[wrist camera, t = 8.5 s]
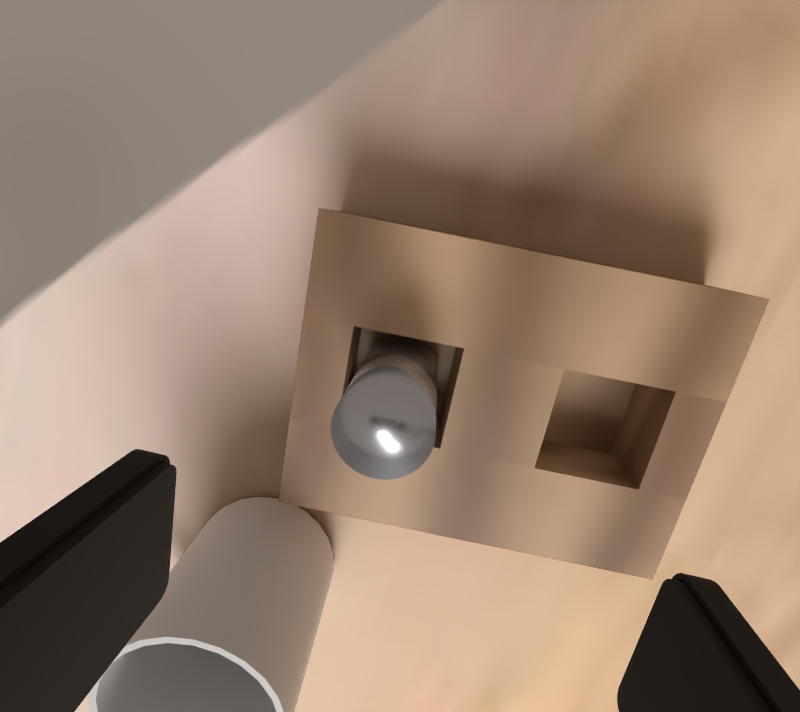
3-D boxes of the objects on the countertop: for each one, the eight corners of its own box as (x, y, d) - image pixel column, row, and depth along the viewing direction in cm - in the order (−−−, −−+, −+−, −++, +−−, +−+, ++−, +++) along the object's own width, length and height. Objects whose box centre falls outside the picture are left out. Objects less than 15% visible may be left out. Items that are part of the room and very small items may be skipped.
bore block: (705, 285, 20) (769, 299, 16) (616, 521, 23) (652, 579, 20) (340, 211, 20) (318, 208, 16) (303, 456, 24) (278, 502, 20)
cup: (362, 569, 25) (327, 746, 17) (223, 645, 27) (128, 838, 19) (280, 467, 24) (196, 603, 15) (140, 555, 26) (-3, 718, 17)
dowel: (444, 339, 20) (445, 393, 14) (430, 406, 21) (424, 488, 15) (372, 325, 21) (338, 371, 14) (361, 393, 21) (323, 468, 15)
